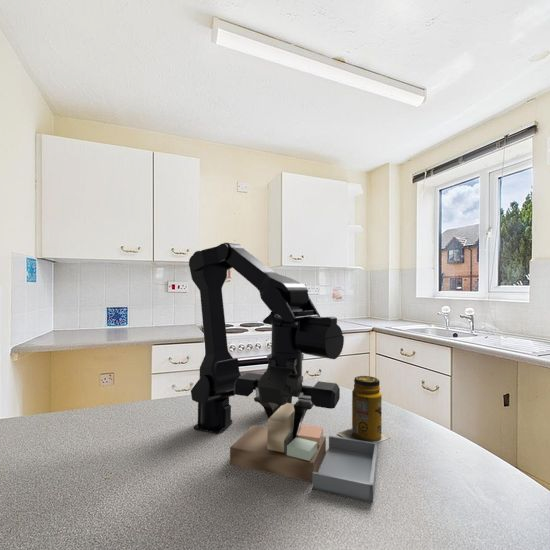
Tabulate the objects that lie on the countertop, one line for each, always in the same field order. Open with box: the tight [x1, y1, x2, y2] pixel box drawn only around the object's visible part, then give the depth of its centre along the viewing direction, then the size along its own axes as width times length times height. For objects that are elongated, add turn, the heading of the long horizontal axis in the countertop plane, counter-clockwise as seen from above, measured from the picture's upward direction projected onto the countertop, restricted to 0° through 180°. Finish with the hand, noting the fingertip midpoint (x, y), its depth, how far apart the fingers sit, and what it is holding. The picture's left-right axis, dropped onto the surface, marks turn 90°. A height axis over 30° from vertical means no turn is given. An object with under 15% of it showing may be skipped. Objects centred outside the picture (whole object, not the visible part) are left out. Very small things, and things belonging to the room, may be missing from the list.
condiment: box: [336, 375, 391, 444], centre depth 70 cm, size 7×8×12 cm
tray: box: [311, 435, 379, 504], centre depth 56 cm, size 9×14×2 cm, turn 160°
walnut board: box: [229, 424, 327, 483], centre depth 61 cm, size 15×10×3 cm, turn 70°
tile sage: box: [287, 437, 317, 461], centre depth 56 cm, size 4×4×2 cm
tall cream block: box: [267, 403, 302, 453], centre depth 60 cm, size 3×9×5 cm, turn 160°
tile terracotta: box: [298, 424, 324, 446], centre depth 61 cm, size 4×4×2 cm
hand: (285, 436), depth 60 cm, fingers closed on tall cream block, 3 cm apart
